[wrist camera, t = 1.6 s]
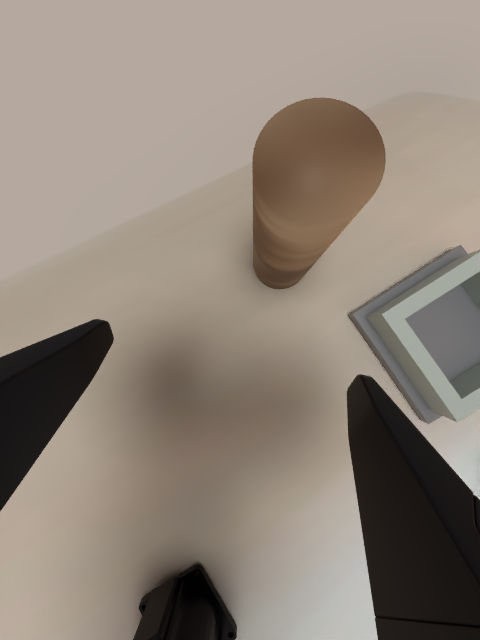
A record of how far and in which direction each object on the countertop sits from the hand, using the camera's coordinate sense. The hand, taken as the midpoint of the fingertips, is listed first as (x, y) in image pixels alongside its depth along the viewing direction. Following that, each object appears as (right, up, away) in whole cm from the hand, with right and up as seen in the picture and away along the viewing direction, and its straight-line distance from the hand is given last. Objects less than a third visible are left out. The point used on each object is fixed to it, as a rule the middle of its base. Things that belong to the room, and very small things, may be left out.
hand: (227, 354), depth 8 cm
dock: (+18, 0, +12) cm, 22 cm away
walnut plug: (+4, +7, +14) cm, 16 cm away
